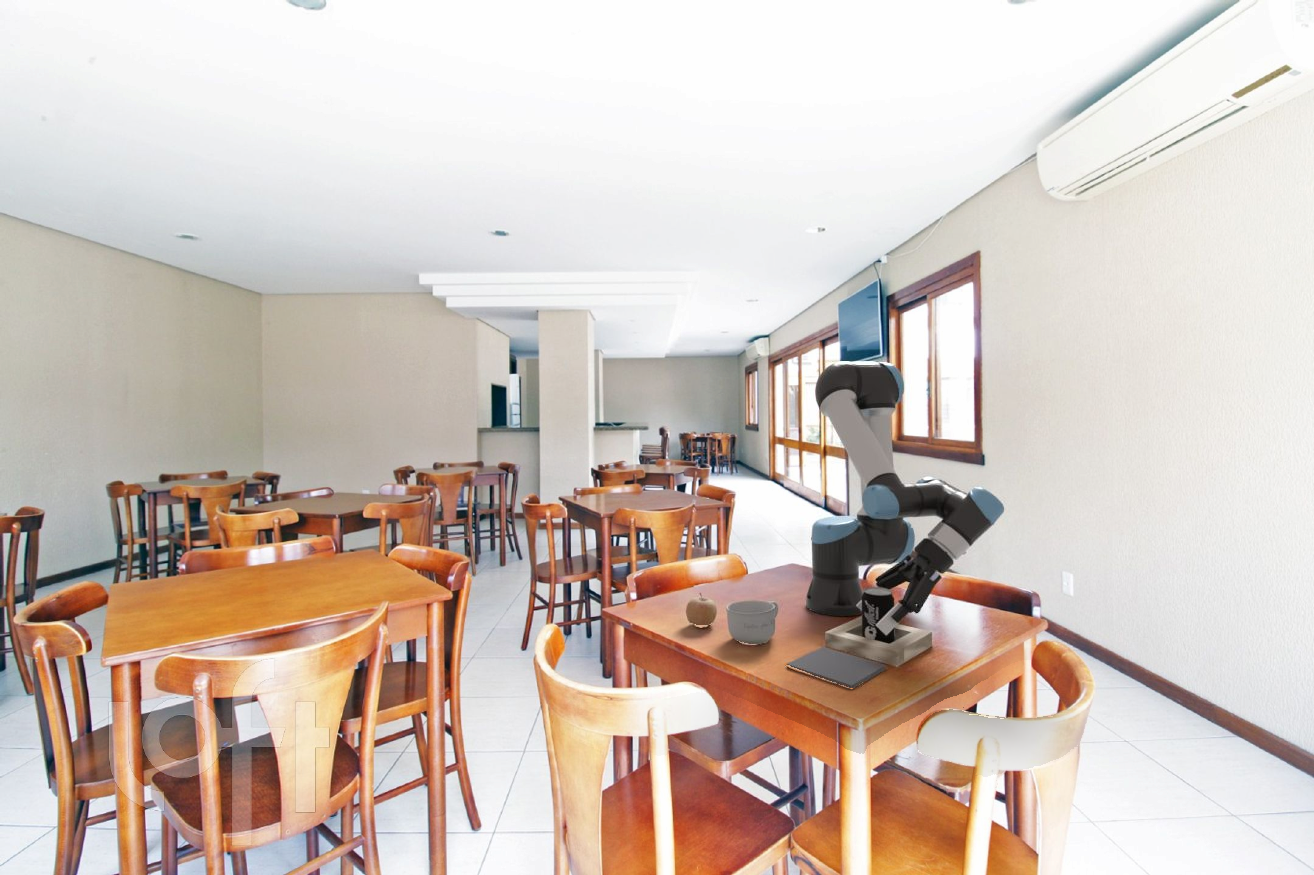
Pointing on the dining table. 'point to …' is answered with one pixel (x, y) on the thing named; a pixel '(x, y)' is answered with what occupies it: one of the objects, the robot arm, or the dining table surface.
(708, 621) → the fruit
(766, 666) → the dining table surface
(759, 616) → the teacup
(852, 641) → the can holder
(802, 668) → the mat
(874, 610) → the beverage can
